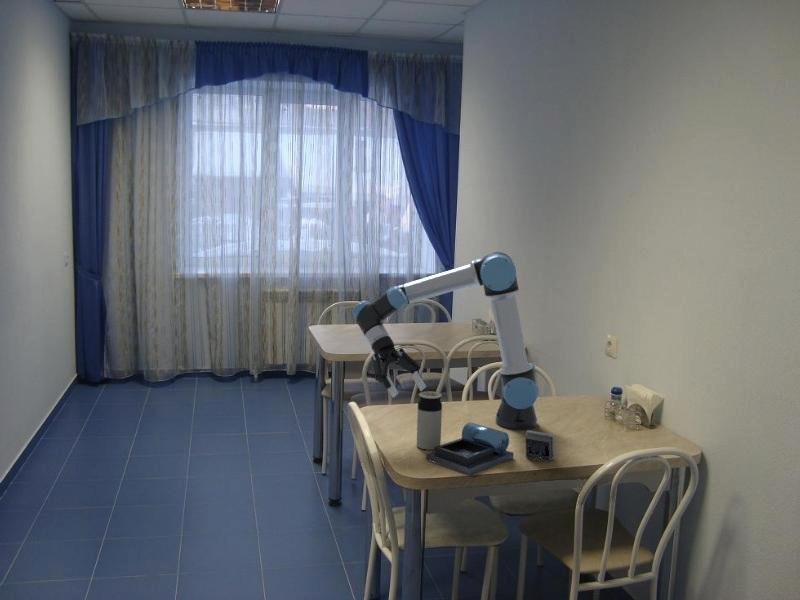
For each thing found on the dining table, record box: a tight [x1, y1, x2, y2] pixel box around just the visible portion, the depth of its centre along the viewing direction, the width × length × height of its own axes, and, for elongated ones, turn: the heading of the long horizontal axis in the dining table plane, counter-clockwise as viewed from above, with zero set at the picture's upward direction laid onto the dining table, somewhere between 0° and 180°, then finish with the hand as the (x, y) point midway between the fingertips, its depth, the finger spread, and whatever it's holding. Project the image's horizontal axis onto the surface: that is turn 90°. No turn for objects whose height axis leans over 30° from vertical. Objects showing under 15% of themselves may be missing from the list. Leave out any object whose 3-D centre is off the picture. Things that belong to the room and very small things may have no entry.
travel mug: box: [416, 390, 443, 451], centre depth 265 cm, size 8×8×18 cm
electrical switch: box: [525, 429, 556, 463], centre depth 256 cm, size 9×5×9 cm, turn 65°
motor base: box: [425, 421, 514, 476], centre depth 254 cm, size 22×18×9 cm
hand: (409, 392), depth 269 cm, fingers open, 13 cm apart
